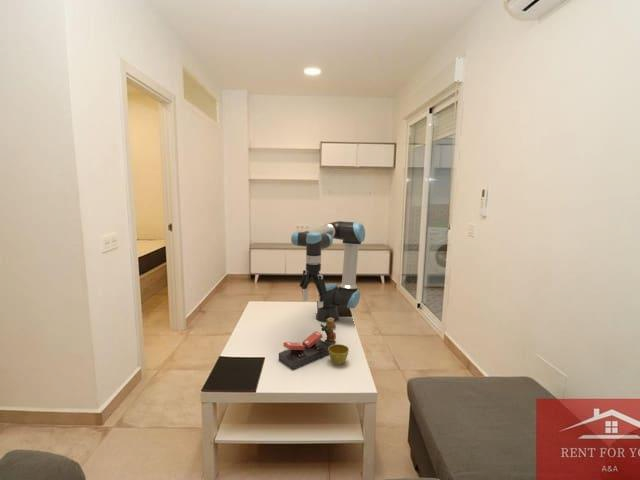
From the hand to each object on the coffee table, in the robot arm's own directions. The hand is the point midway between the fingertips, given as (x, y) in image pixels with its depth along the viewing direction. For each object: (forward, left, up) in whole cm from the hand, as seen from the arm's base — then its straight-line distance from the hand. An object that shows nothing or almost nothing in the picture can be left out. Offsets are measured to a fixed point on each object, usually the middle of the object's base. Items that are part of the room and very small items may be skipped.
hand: (312, 304), depth 176 cm
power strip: (+6, +3, -26) cm, 27 cm away
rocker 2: (0, 0, -19) cm, 19 cm away
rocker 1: (+12, 0, -19) cm, 23 cm away
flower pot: (-3, +17, -26) cm, 31 cm away
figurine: (-14, -2, -26) cm, 30 cm away
